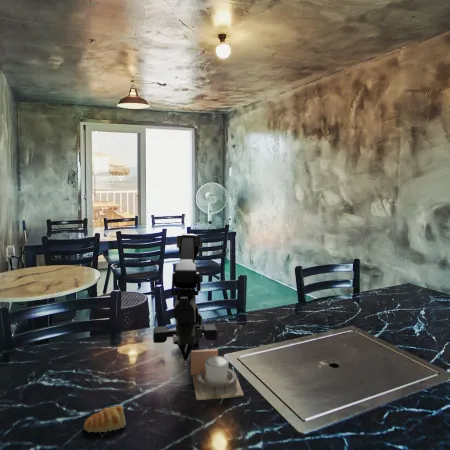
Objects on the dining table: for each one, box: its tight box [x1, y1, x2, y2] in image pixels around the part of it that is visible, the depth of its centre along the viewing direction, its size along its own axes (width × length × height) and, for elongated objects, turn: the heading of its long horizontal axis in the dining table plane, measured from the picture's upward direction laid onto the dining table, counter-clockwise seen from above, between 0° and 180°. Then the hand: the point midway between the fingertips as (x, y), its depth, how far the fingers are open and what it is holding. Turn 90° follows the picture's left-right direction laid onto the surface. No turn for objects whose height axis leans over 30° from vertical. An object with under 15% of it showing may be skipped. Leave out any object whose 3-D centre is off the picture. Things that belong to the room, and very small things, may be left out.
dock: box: [191, 367, 245, 401], centre depth 109 cm, size 13×13×3 cm
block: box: [190, 348, 219, 376], centre depth 115 cm, size 8×1×7 cm, turn 100°
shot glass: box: [205, 355, 230, 384], centre depth 109 cm, size 7×7×7 cm
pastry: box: [83, 404, 127, 433], centre depth 91 cm, size 9×7×4 cm
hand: (185, 360), depth 114 cm, fingers closed
